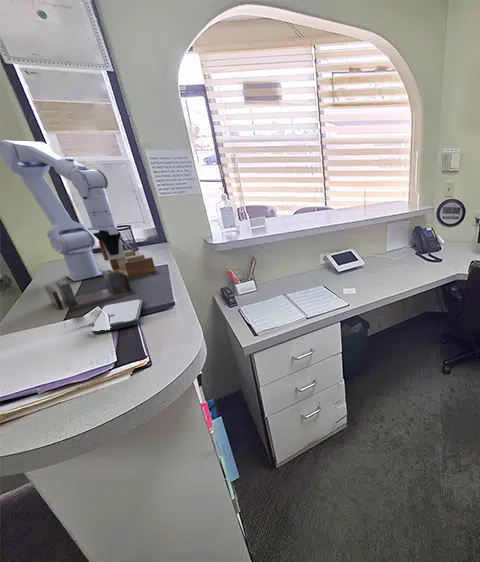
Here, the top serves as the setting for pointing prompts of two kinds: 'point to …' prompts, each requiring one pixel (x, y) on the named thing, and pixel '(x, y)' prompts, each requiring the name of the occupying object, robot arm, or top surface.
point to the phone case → (123, 314)
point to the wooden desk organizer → (133, 264)
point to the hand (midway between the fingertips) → (113, 254)
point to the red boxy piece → (107, 255)
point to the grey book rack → (115, 285)
